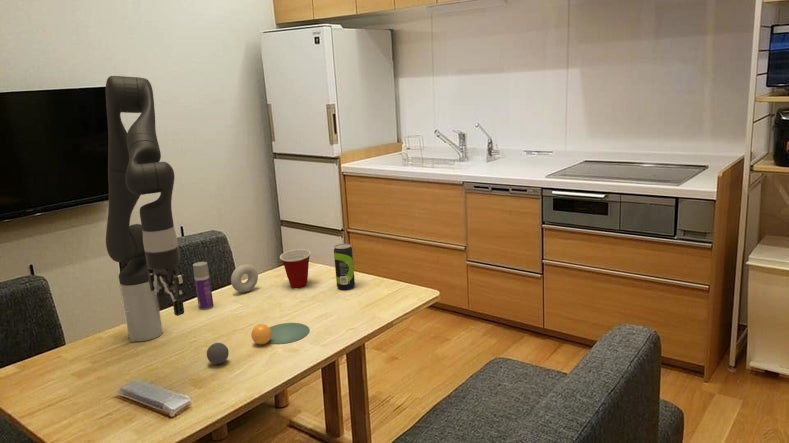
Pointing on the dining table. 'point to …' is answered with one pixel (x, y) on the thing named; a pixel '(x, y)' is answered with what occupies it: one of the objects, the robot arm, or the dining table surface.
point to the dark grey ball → (217, 353)
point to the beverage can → (344, 266)
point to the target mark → (288, 333)
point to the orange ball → (261, 334)
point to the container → (203, 285)
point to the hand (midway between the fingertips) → (171, 311)
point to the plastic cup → (296, 266)
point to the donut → (239, 273)
